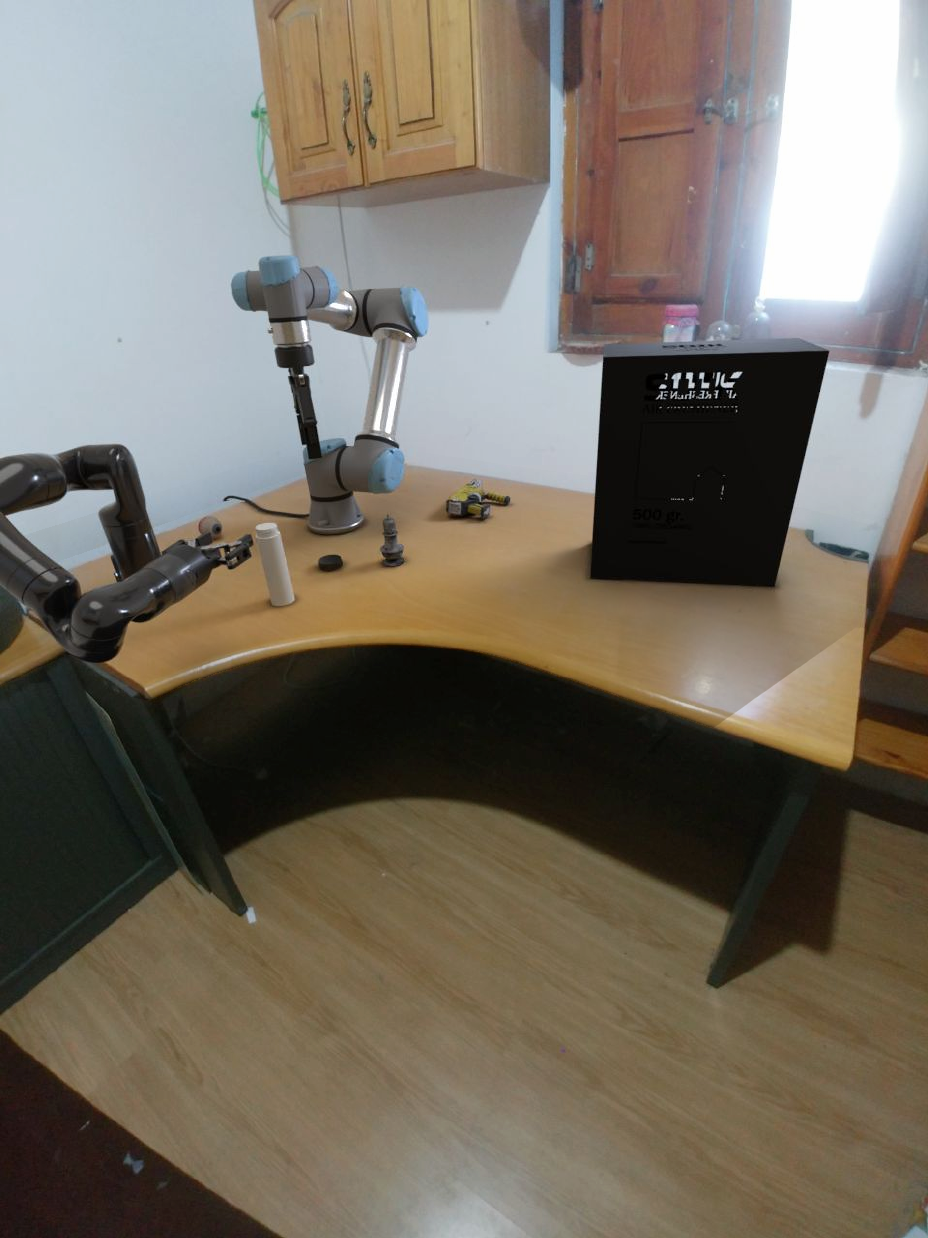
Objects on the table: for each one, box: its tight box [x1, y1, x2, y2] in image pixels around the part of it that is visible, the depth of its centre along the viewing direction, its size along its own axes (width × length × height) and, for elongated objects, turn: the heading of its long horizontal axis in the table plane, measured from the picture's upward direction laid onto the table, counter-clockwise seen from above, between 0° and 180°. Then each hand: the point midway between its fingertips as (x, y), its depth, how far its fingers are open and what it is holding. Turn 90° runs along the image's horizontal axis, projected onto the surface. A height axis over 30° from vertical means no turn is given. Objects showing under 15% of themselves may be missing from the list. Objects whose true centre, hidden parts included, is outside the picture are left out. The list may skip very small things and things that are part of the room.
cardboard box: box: [589, 337, 830, 587], centre depth 126 cm, size 38×20×45 cm, turn 78°
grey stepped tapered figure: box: [379, 514, 405, 567], centre depth 143 cm, size 6×6×12 cm
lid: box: [317, 554, 344, 572], centre depth 145 cm, size 6×6×2 cm
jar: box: [255, 522, 296, 607], centre depth 127 cm, size 5×5×17 cm
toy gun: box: [445, 478, 511, 520], centre depth 176 cm, size 5×24×15 cm
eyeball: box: [197, 516, 223, 539], centre depth 164 cm, size 6×6×6 cm
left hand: (230, 537), depth 111 cm, fingers open, 8 cm apart
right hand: (311, 451), depth 132 cm, fingers open, 13 cm apart
